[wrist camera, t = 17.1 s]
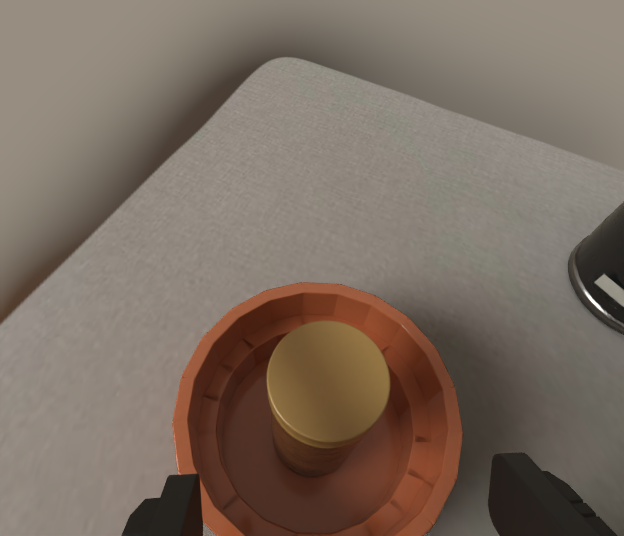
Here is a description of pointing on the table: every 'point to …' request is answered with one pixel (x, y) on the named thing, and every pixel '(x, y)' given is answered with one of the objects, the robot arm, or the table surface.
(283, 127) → the table surface
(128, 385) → the table surface
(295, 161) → the table surface
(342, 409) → the spice jar
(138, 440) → the table surface
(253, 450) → the bowl
